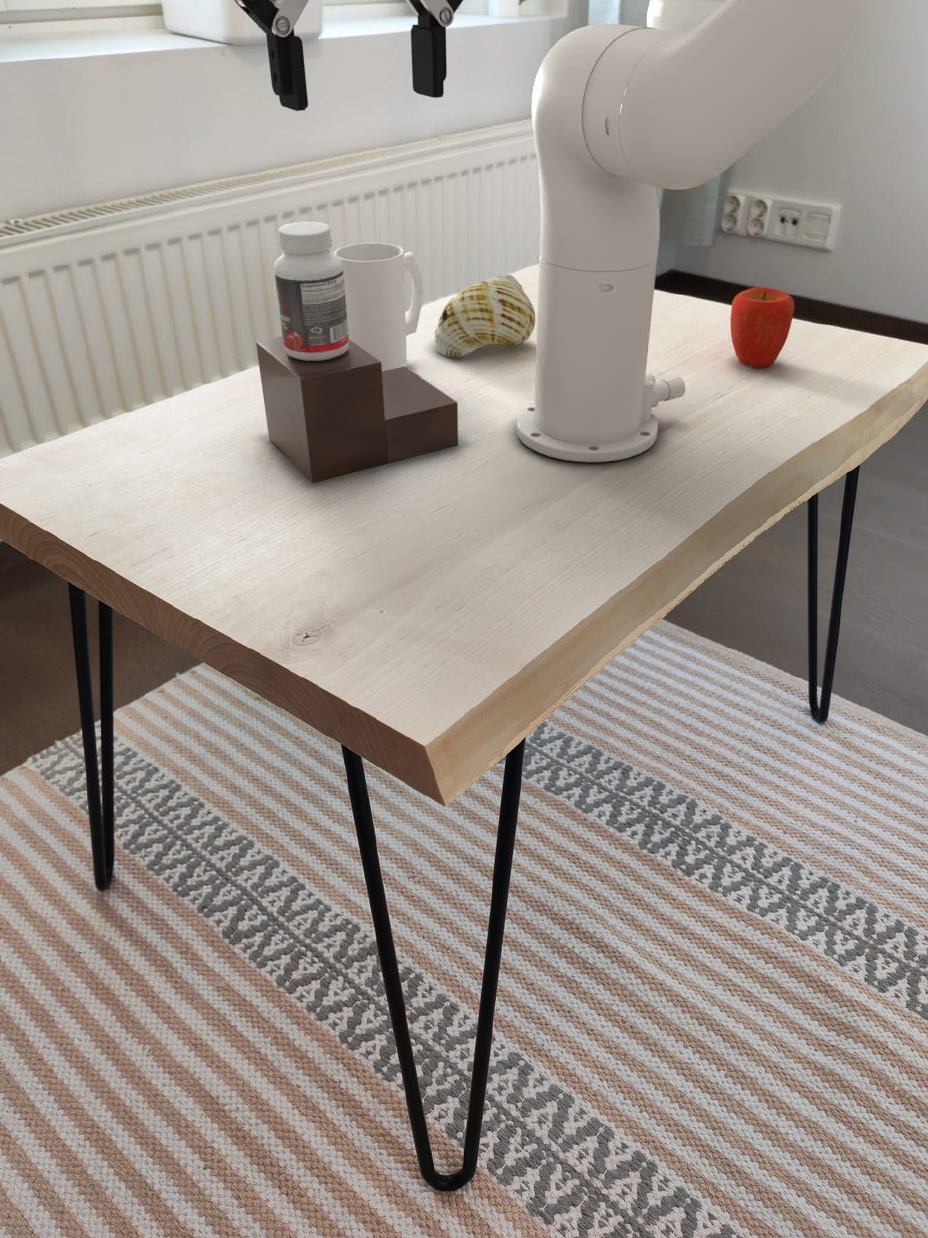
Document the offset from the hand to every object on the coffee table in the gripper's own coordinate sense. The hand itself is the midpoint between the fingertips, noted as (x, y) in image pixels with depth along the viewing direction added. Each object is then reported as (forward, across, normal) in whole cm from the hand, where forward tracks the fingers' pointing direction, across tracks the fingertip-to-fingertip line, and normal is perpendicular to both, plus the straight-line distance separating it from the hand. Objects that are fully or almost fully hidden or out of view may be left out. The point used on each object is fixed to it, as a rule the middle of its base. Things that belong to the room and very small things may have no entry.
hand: (363, 101), depth 64 cm
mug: (+28, +12, +24) cm, 39 cm away
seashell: (+28, +24, +24) cm, 44 cm away
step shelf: (+28, +2, +9) cm, 30 cm away
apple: (+28, +45, +5) cm, 54 cm away
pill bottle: (+20, -2, +9) cm, 22 cm away
